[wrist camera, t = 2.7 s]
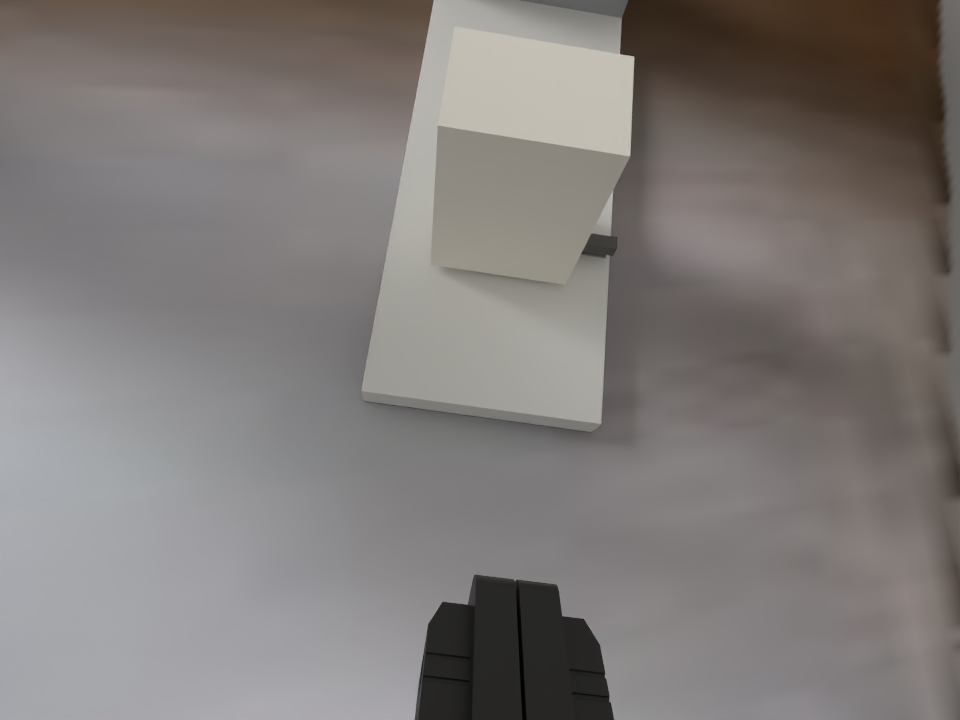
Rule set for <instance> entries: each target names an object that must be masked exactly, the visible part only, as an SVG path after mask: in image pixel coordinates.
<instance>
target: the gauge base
mask: <svg viewBox="0 0 960 720" xmlns="http://www.w3.org/2000/svg"><path fill="white" fill-rule="evenodd" d="M627 2H628V0H434V3H433V8H432V14H431V19H430V24H429V30H428V35H427V40H426V46H425V51H424V56H423V62H422V67H421V73H420V78H419V83H418V89H417V94H416V99H415V105H414V110H413V115H412V121H411V126H410V131H409V137H408V142H407V147H406V153H405V158H404V164H403V169H402V174H401V180H400V185H399V190H398V196H397V201H396V206H395V212H394V217H393V222H392V228H391V233H390V238H389V244H388V249H387V255H386V260H385V265H384V271H383V276H382V281H381V287H380V292H379V297H378V303H377V308H376V313H375V319H374V324H373V329H372V335H371V340H370V346H369V351H368V356H367V362H366V367H365V372H364V378H363V383H362V388H361V393H362V396H363V400H364V401H368V402H375V403H383V404H390V405H397V406H405V407H412V408H419V409H426V410H434V411H441V412H448V413H456V414H463V415H470V416H478V417H485V418H492V419H500V420H507V421H514V422H522V423H529V424H536V425H543V426H551V427H558V428H565V429H573V430H580V431H587V432H592V431H594V430H595V429H596V428H597V427H598V426H599V425H601V418H602V398H603V379H604V359H605V339H606V319H607V300H608V280H609V260H610V255H605V254H598V253H592V252H585V251H582V253H581V255H580V257H579V259H578V261H577V263H576V265H575V267H574V269H573V271H572V273H571V275H570V277H569V279H568V281H567V283H566V285H563V284H556V283H549V282H543V281H536V280H529V279H522V278H516V277H509V276H502V275H496V274H489V273H482V272H475V271H469V270H462V269H455V268H449V267H442V266H435V265H431V247H432V228H433V208H434V189H435V170H436V150H437V131H438V121H439V115H440V109H441V103H442V98H443V92H444V86H445V80H446V74H447V68H448V62H449V56H450V50H451V44H452V38H453V32H454V26H456V27H462V28H467V29H473V30H479V31H485V32H491V33H497V34H503V35H509V36H515V37H521V38H527V39H533V40H538V41H544V42H550V43H556V44H562V45H568V46H574V47H580V48H586V49H592V50H598V51H603V52H609V53H615V54H620V43H621V23H622V16H623V13H624V11H625V8H626V5H627ZM612 201H613V192H612V193H611V195H610V197H609V199H608V201H607V203H606V205H605V207H604V209H603V211H602V213H601V215H600V217H599V219H598V221H597V223H596V225H595V227H594V229H593V231H592V233H593V234H599V235H606V236H611V221H612Z"/></svg>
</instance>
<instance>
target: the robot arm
mask: <svg viewBox="0 0 960 720" xmlns="http://www.w3.org/2000/svg"><path fill="white" fill-rule="evenodd" d="M415 720H614V718H613V712H612V707H611V703H610V702H609V691H608V686H607V681H606V679H605V670H604V665H603V659H602V654H601V649H600V644H599V643H598V641H597V640H596V638H595V636H594V635H593V633H592V632H591V630H590V628H589V627H588V625H587V624H586V622H585V620H584V619H580V618H572V617H563V616H562V612H561V605H560V597H559V590H558V587H557V585H555V584H547V583H539V582H531V581H523V580H516V581H514V580H513V579H505V578H497V577H489V576H481V575H474V578H473V582H472V587H471V592H470V597H469V602H468V605H464V604H456V603H448V602H442V604H441V605H440V607H439V609H438V610H437V612H436V613H435V615H434V616H433V618H432V619H431V621H430V623H429V624H428V630H427V636H426V642H425V648H424V655H423V661H422V667H421V673H420V679H419V686H418V695H417V704H416V714H415Z"/></svg>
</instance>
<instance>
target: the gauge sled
mask: <svg viewBox="0 0 960 720" xmlns="http://www.w3.org/2000/svg"><path fill="white" fill-rule="evenodd" d="M633 75H634V57H633V56H627V55H621V54H615V53H609V52H603V51H598V50H592V49H586V48H580V47H574V46H568V45H562V44H556V43H550V42H544V41H538V40H533V39H527V38H521V37H515V36H509V35H503V34H497V33H491V32H485V31H479V30H473V29H467V28H462V27H456V26H454V32H453V38H452V44H451V50H450V56H449V62H448V68H447V74H446V80H445V86H444V92H443V98H442V103H441V109H440V115H439V121H438V131H437V150H436V170H435V189H434V208H433V228H432V247H431V265H435V266H442V267H449V268H455V269H462V270H469V271H475V272H482V273H489V274H496V275H502V276H509V277H516V278H522V279H529V280H536V281H543V282H549V283H556V284H563V285H566V283H567V281H568V279H569V277H570V275H571V273H572V271H573V269H574V267H575V265H576V263H577V261H578V259H579V257H580V255H581V253H582V251H585V252H592V253H598V254H605V255H612V256H613V254H614V253H615V251H616V249H617V237H612V236H606V235H599V234H593V233H592V231H593V229H594V227H595V225H596V223H597V221H598V219H599V217H600V215H601V213H602V211H603V209H604V207H605V205H606V203H607V201H608V199H609V197H610V195H611V193H612V192H613V190H614V188H615V186H616V184H617V182H618V180H619V178H620V176H621V174H622V172H623V170H624V168H625V166H626V164H627V162H628V160H629V158H630V149H631V125H632V100H633Z"/></svg>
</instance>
